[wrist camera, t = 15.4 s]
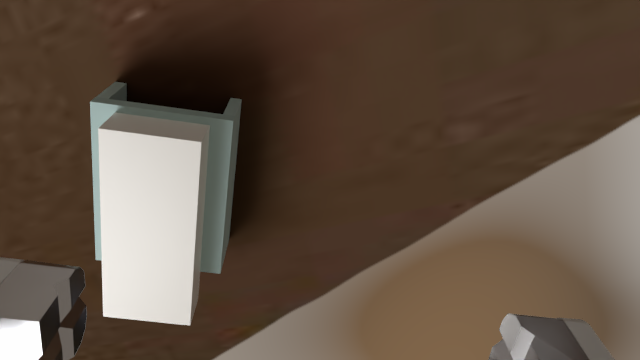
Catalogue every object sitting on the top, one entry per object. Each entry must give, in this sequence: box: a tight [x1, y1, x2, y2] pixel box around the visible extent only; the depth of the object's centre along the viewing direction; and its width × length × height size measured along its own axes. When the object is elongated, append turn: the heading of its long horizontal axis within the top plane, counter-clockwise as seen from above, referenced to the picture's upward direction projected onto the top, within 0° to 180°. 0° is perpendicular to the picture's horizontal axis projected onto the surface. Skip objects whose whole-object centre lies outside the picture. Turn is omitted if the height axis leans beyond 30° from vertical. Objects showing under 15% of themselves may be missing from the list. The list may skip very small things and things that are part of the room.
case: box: [90, 82, 242, 274], centre depth 38 cm, size 9×12×5 cm
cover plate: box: [98, 112, 210, 325], centre depth 35 cm, size 6×14×3 cm, turn 171°
